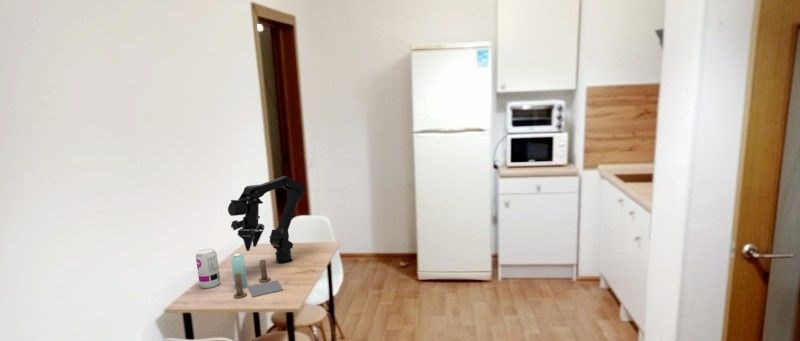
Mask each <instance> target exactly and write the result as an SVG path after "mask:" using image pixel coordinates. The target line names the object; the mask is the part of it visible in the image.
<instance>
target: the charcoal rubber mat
mask: <svg viewBox="0 0 800 341" xmlns="http://www.w3.org/2000/svg"><path fill="white" fill-rule="evenodd" d="M247 289H248V290H249V292H250V295H252V296H251V298H252V297H253V298H256V297H261V296H264V295H268V294H273V293H277V292H282V291H284V289H283V287H282V285H281V283H280V281H279V280H278V279H276V280H270V281H269V282H266V283H258V284H254V285H249V286H247Z"/></svg>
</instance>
